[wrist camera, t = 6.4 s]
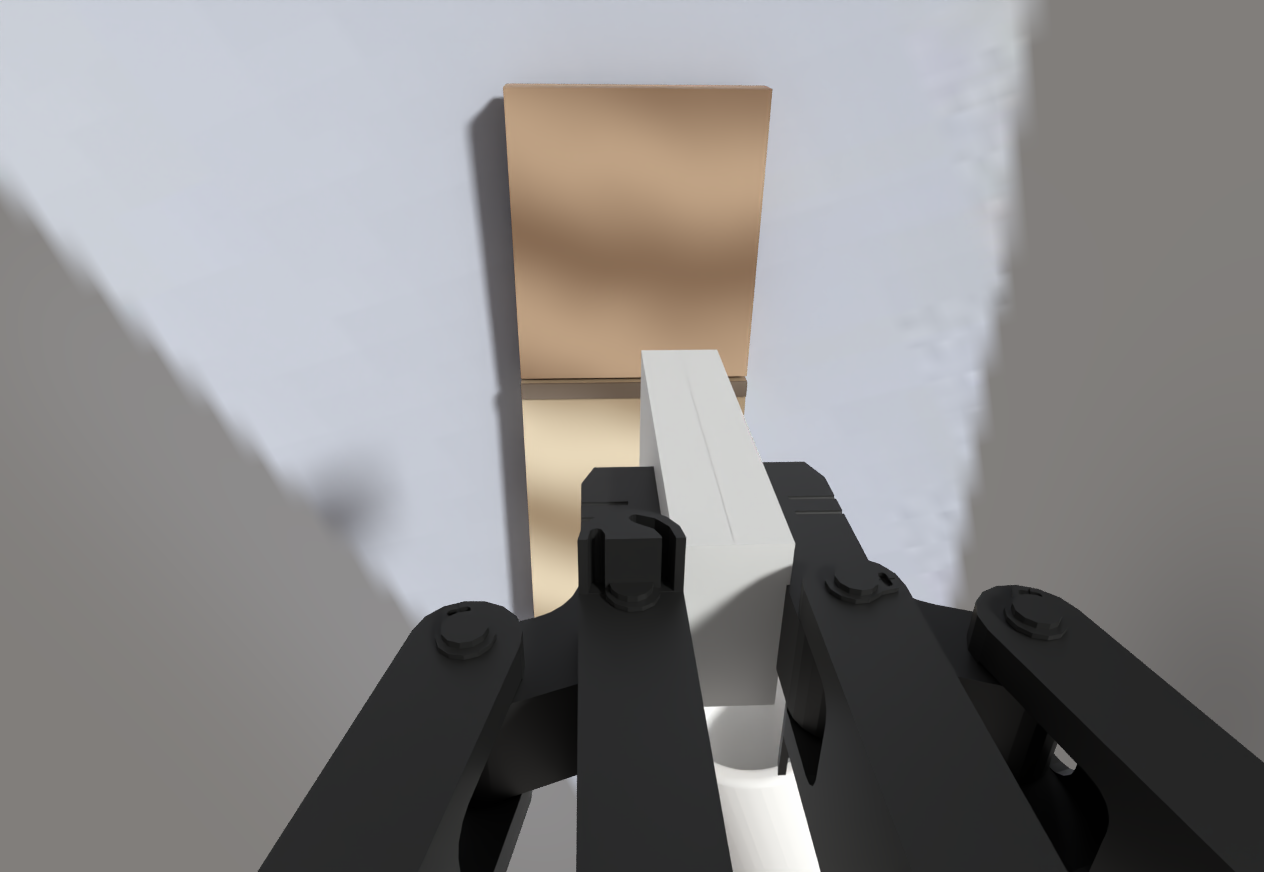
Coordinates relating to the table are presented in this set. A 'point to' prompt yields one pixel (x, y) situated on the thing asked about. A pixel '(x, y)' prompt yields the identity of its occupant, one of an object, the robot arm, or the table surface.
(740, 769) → the mug
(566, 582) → the floorboard
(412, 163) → the table surface
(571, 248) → the plank
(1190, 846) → the robot arm
